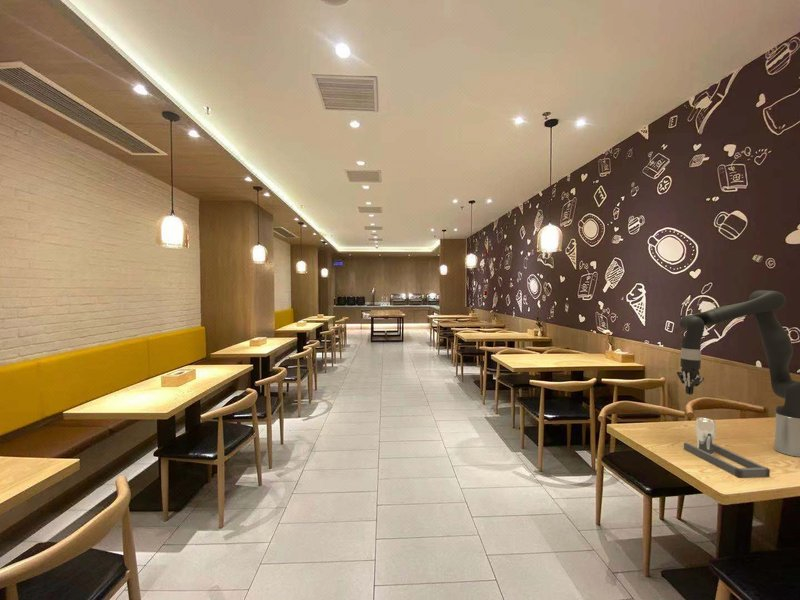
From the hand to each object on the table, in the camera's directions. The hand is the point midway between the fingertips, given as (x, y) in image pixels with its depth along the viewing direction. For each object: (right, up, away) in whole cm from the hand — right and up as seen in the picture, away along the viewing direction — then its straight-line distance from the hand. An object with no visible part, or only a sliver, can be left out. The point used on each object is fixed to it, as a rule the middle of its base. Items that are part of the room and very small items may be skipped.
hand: (689, 394), depth 172 cm
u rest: (+1, -25, -16) cm, 30 cm away
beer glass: (0, -25, -8) cm, 26 cm away
